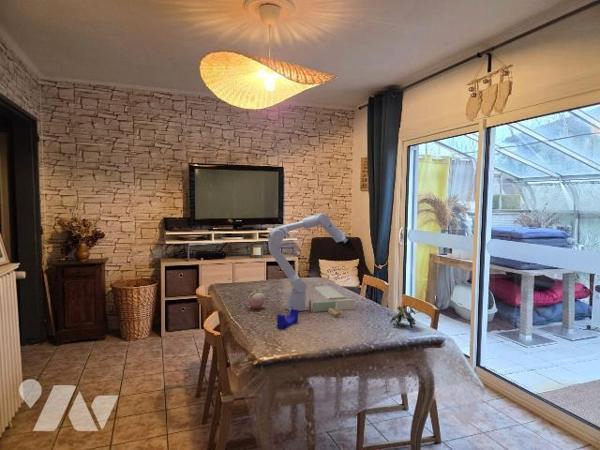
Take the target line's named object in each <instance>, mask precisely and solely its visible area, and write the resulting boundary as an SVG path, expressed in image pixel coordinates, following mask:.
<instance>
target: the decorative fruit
mask: <svg viewBox="0 0 600 450" xmlns="http://www.w3.org/2000/svg"><path fill="white" fill-rule="evenodd" d="M255 290H256V291H253V292H251V293H250V294H249V295H248V296H247V297H248V298H247V302H248V304H249V305H250V306H251V308H254V309H255V310H257V309H260V308H261V307H262V306H263V305H264V304H265V302H266V299H267V297H266V295H265V292H264V291H262V290H258V289H255Z"/></svg>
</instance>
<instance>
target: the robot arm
mask: <svg viewBox="0 0 600 450" xmlns="http://www.w3.org/2000/svg"><path fill="white" fill-rule="evenodd" d="M318 226H321V227H322V228H323V230H324V231H325V232H326V233H327V234H328V235H329V236H330V237H331V238H332V239H333V240H334V241H335V244H338V245H340V246H341V247H343V248H344V249H346V250H349V251H351V252H352V253H353V252H354V251H355V250H356V248H355V246H354V245H353V243H352V240H351V238H350V237H347V238H346V233H347V232H346V231H344V232H343V231H342V230H341V229H340V228H339V227H338V226H337V225H336V224H335V222H333V221H332V220H331V219H330V216H329V215H328V214H325V213H315V214H314V215H311V216H309V215H306V216H305V217H303V219H302V220H301V221H297V222H291V223H287V224H283V225H279V226H277V227H275V228H272V229H270V231H269V232H268V235H267V241H268V242H267V243H268V251H269V252H270V254H271V256H272V257H273V259H275V261H276V263H277V264H278V266H279V267H280V269H282V272H284V274H285V275H286V277H287V278H288V280H289V281H290V286H291V288H292V289H291V292H287V294H286V308H285V309H287V310H288V311H290V312H291V309H297V310H298V312H300V311H301V312H303V311H304V312H305V311H309V308H308V307H307V306H306V305H307V304H306V297H307V296H306V295H307V293H306V291H307V286H308V284H307V283H306V282H305V281H304V280H303V279H301V277H300V276H299V275H298V274H297V273H296V271H295V270H294V268H293V267H292V265H291V264H290V263H289V261H288V260H287V258H286V257H285V255H284V254H283V253H282V251H281V250H280V248H281V244H282V242H283V240H284V238H285V236H287V235H288V234H289V232H291V231H296V230H298V229H301V228H304V229H306V230H307V229H311V228H317V227H318Z"/></svg>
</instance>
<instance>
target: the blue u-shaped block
mask: <svg viewBox="0 0 600 450" xmlns="http://www.w3.org/2000/svg"><path fill="white" fill-rule="evenodd" d="M276 317H277V318H276V321H277V322H276V325H277V327H276V328H277V329H279V330H284V329H287V328H289V327H291V326H293V325H295V324H297V323H298V322H299V311H298V310H297V309H291V311H290V313H289V314H288V315H286V314H281V313H279V314H277V315H276Z"/></svg>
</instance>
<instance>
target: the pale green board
mask: <svg viewBox="0 0 600 450" xmlns="http://www.w3.org/2000/svg"><path fill="white" fill-rule="evenodd" d="M336 308H337V309H338V310H340V311H347V310H355V309H356V299H355V298H347V299H346V298H345V299H336ZM308 313H310V314H311V313H312V300H311V299H309V300H308Z"/></svg>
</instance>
